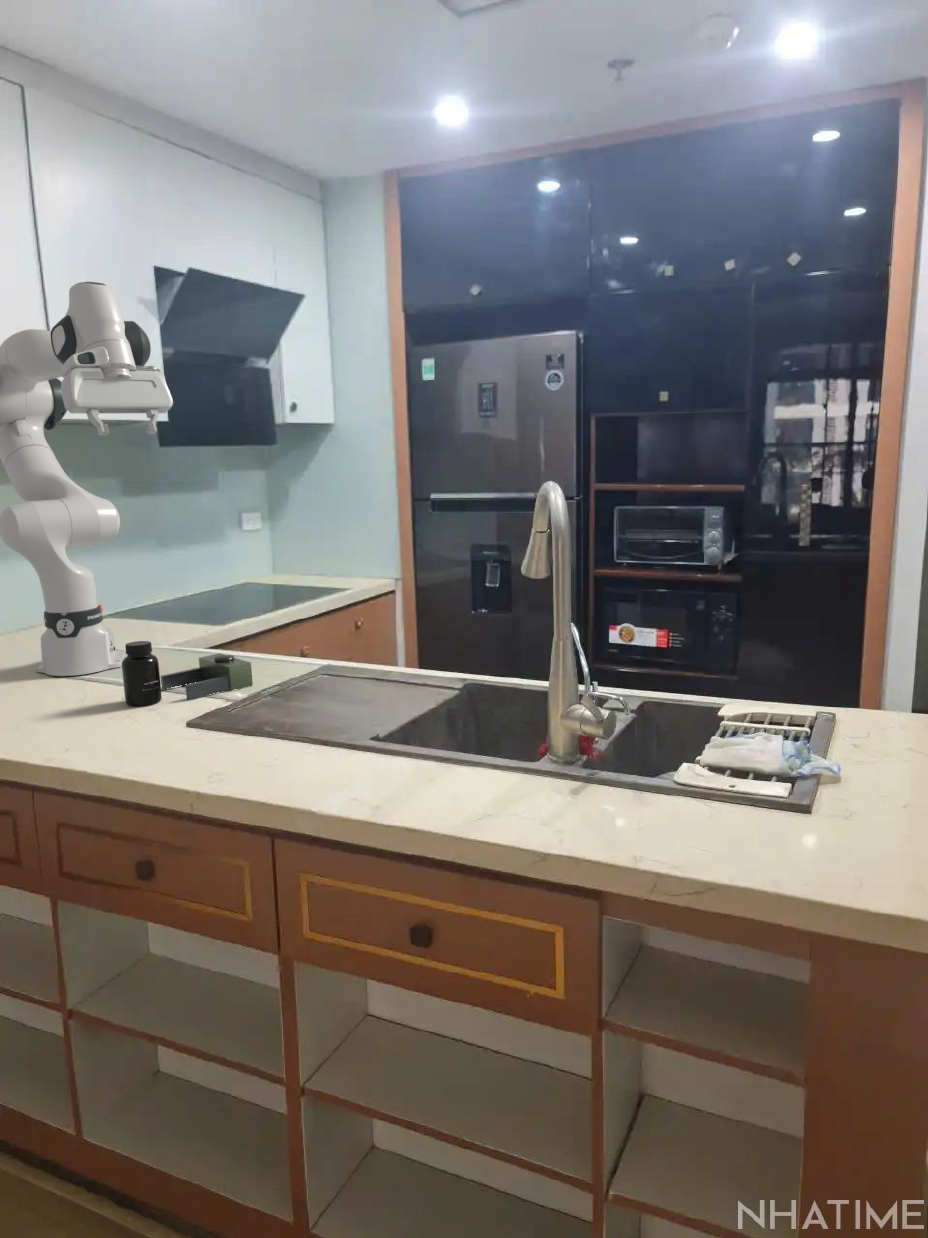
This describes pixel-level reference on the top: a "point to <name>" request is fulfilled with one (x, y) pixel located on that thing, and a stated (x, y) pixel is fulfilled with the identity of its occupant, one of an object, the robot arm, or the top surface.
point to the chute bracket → (211, 676)
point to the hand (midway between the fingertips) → (128, 433)
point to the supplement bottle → (141, 675)
